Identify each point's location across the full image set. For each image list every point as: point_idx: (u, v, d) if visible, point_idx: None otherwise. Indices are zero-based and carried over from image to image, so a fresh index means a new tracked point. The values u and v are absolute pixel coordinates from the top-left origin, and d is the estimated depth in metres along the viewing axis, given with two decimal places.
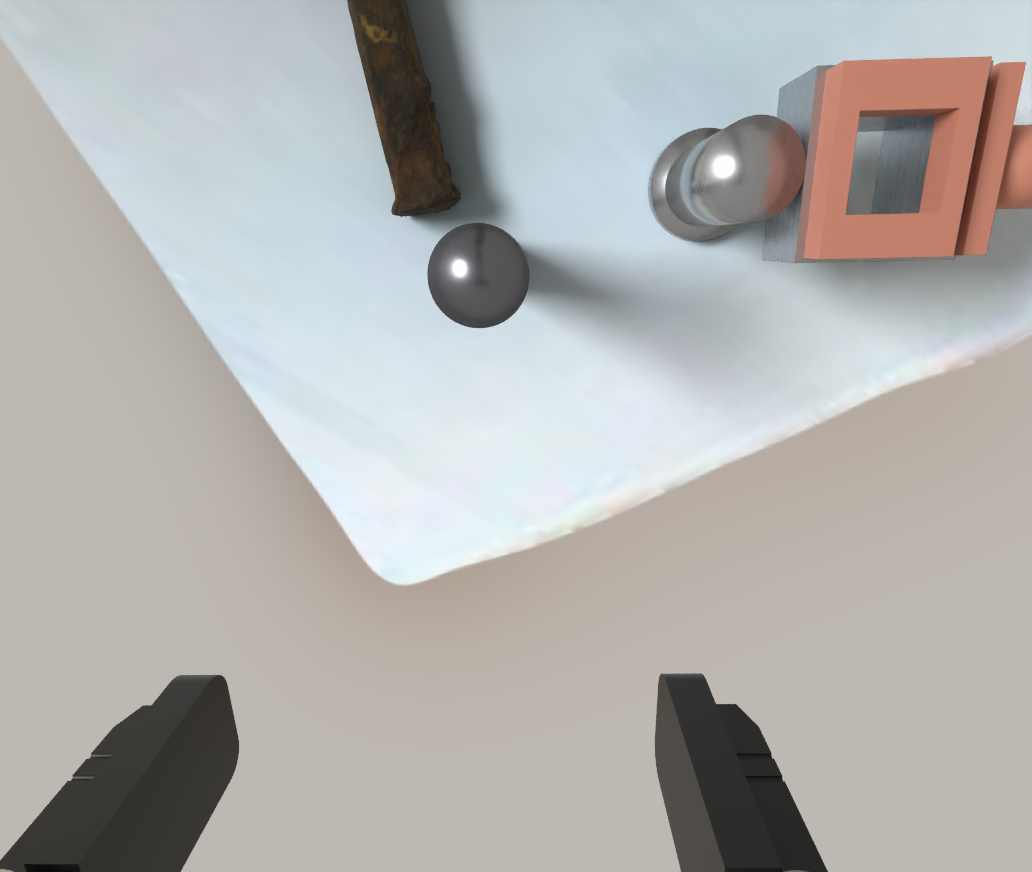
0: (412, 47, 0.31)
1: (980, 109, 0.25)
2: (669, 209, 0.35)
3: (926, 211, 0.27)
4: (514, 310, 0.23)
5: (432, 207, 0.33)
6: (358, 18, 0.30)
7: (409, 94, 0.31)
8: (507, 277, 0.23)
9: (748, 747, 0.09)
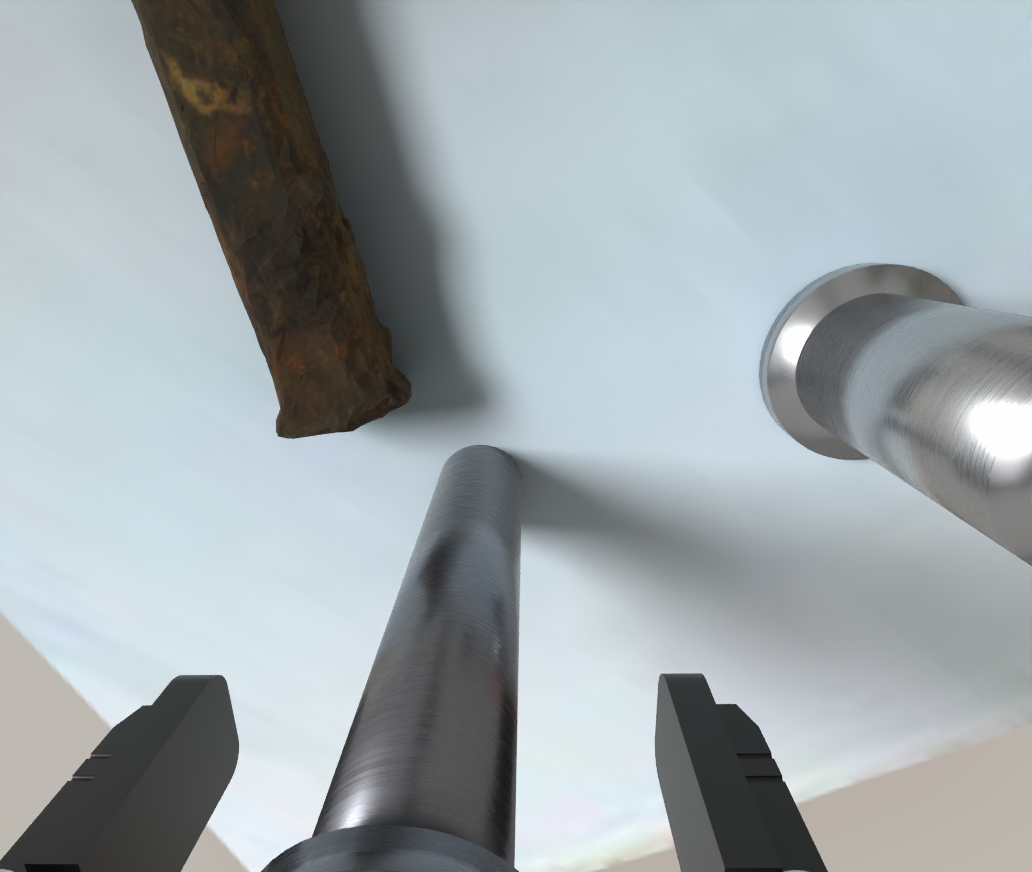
0: (289, 119, 0.15)
1: None
2: (801, 407, 0.19)
3: None
4: None
5: (350, 430, 0.16)
6: (163, 64, 0.14)
7: (287, 218, 0.15)
8: None
9: (748, 747, 0.09)
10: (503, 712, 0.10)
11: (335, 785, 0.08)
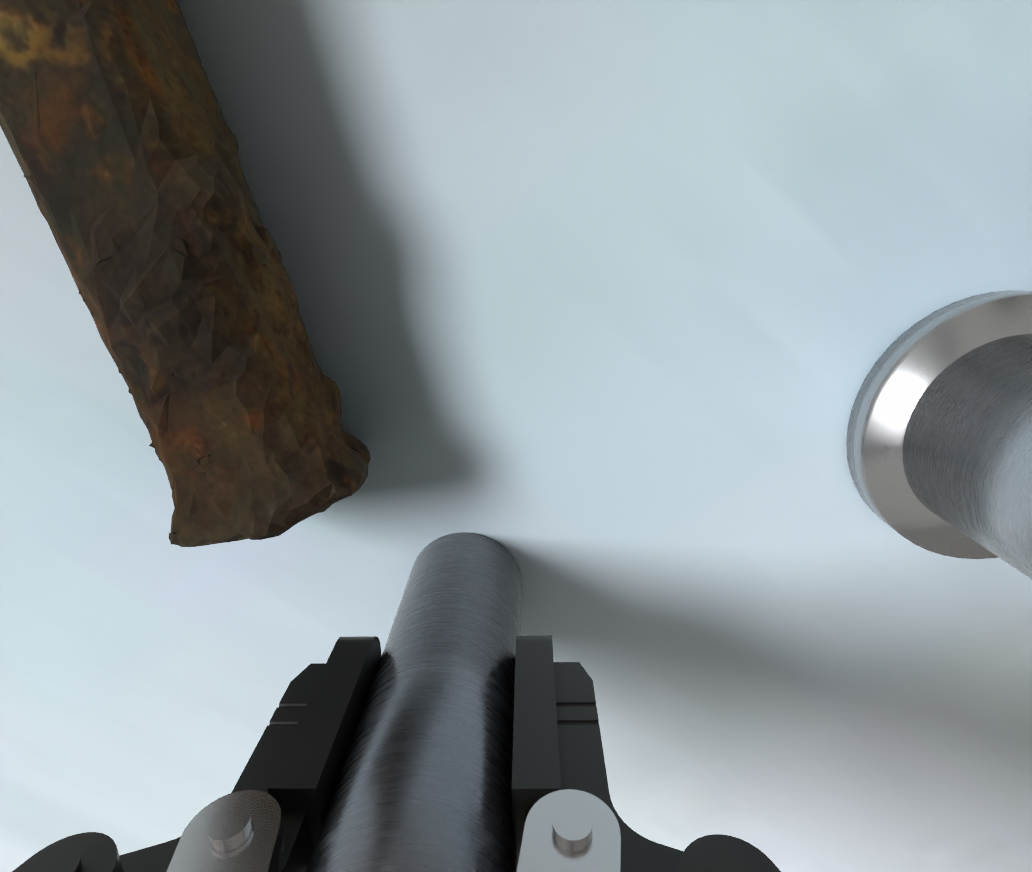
0: (157, 75, 0.10)
1: None
2: (908, 489, 0.13)
3: None
4: None
5: (274, 535, 0.11)
6: None
7: (158, 226, 0.10)
8: None
9: (577, 697, 0.10)
10: None
11: None
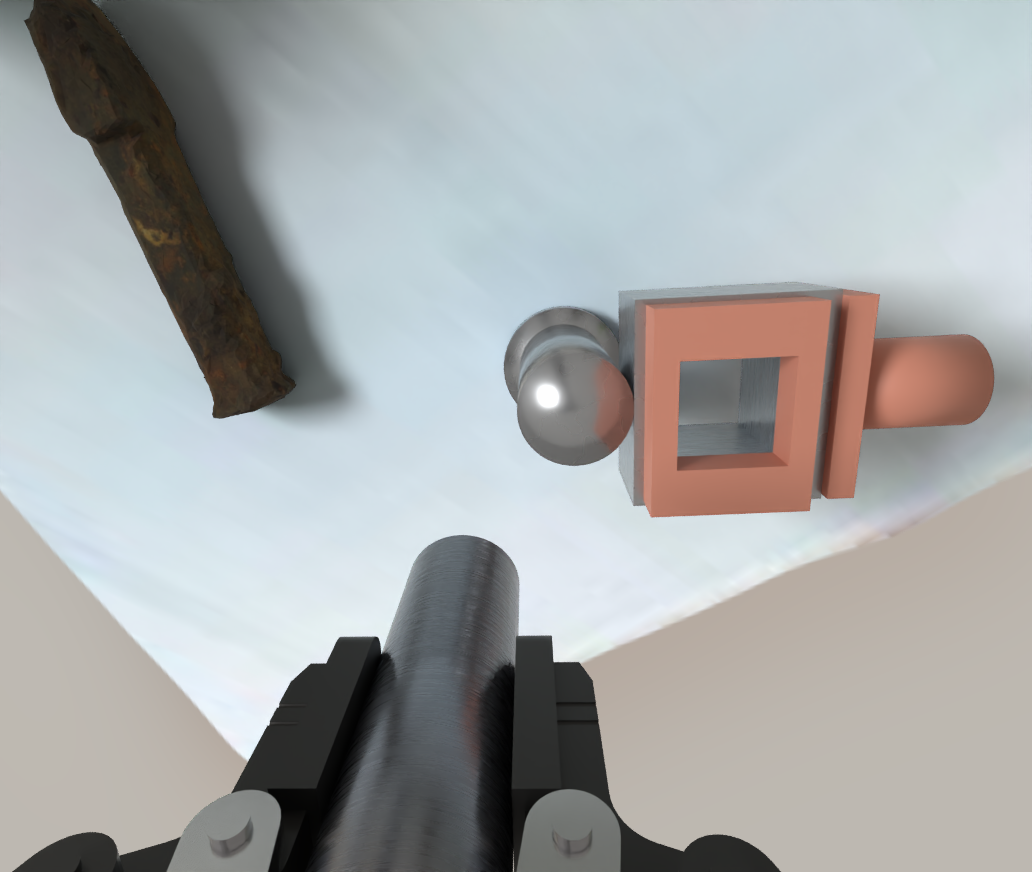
0: (202, 243, 0.27)
1: (824, 356, 0.20)
2: None
3: (778, 454, 0.23)
4: None
5: (252, 410, 0.29)
6: (133, 222, 0.27)
7: (205, 296, 0.27)
8: None
9: (577, 697, 0.10)
10: None
11: None
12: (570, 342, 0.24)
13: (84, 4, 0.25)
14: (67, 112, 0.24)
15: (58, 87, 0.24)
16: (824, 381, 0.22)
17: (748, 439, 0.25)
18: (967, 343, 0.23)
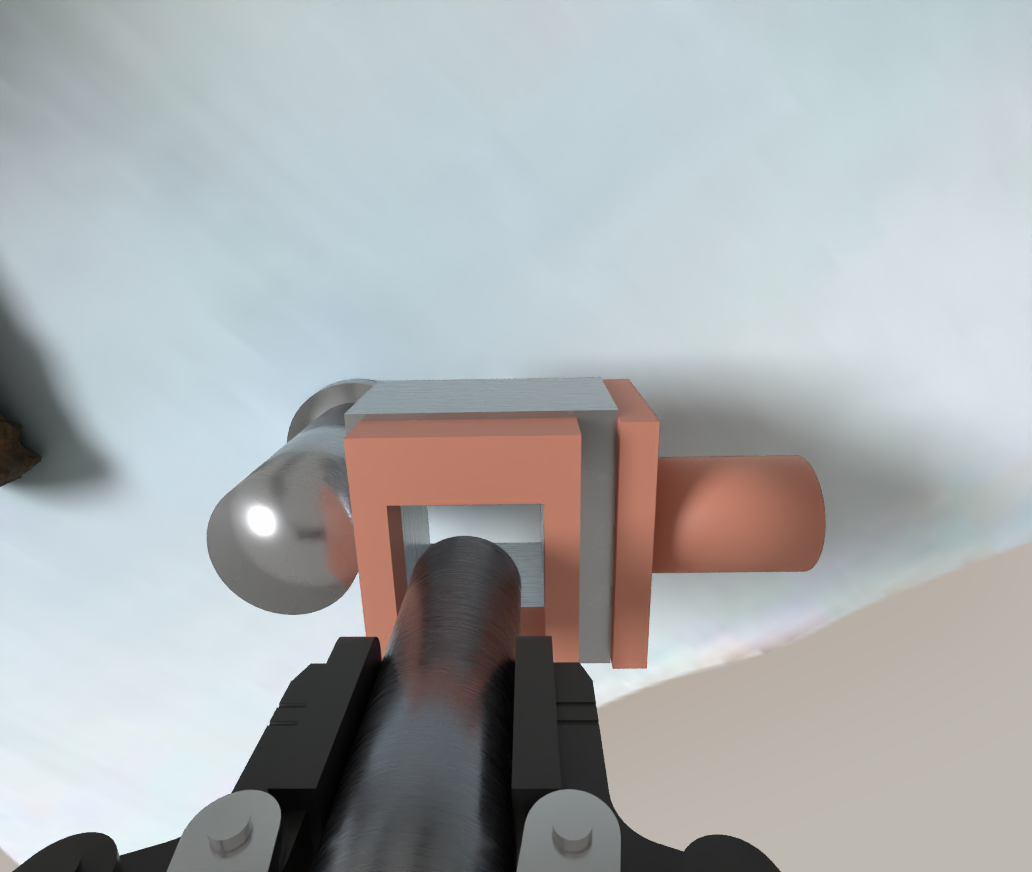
0: None
1: (578, 505, 0.15)
2: None
3: (544, 614, 0.17)
4: None
5: None
6: None
7: None
8: None
9: (577, 697, 0.10)
10: None
11: None
12: (303, 449, 0.19)
13: None
14: None
15: None
16: (602, 523, 0.17)
17: (531, 578, 0.19)
18: (797, 473, 0.18)
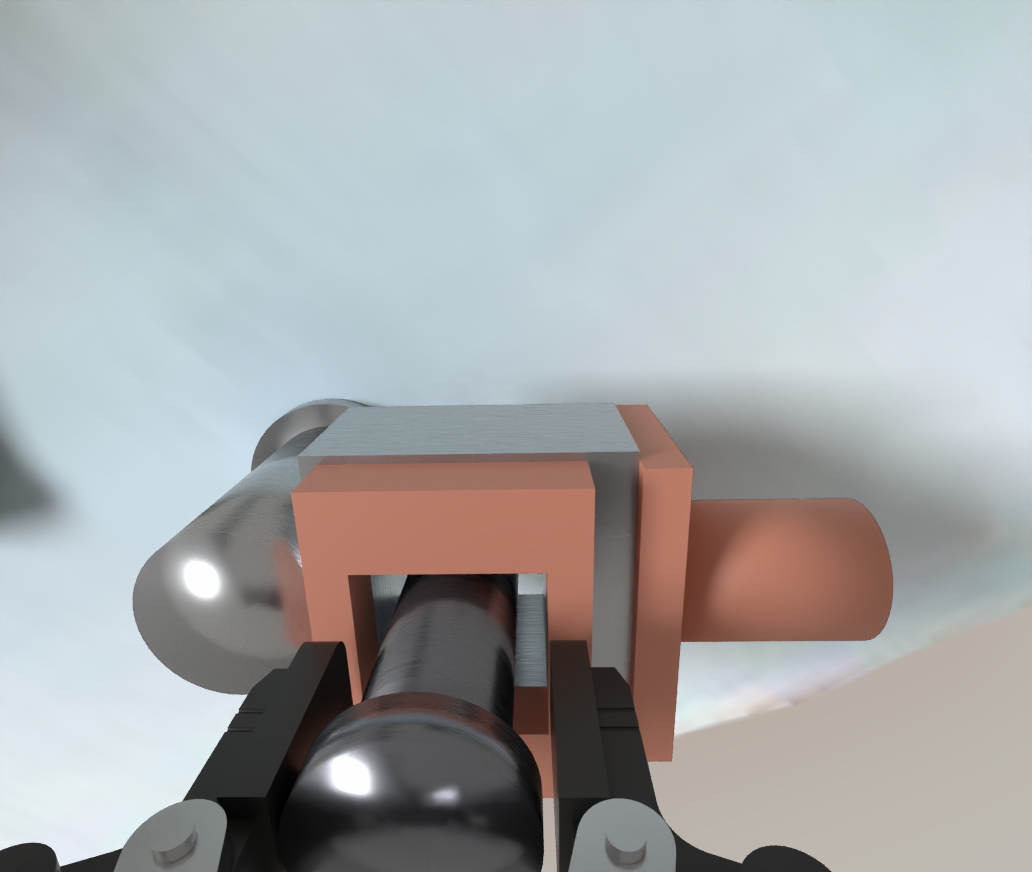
0: None
1: (591, 575, 0.12)
2: None
3: (547, 699, 0.14)
4: None
5: None
6: None
7: None
8: (487, 852, 0.09)
9: (615, 703, 0.10)
10: (504, 637, 0.12)
11: (371, 683, 0.11)
12: (257, 490, 0.16)
13: None
14: None
15: None
16: (619, 589, 0.14)
17: (532, 644, 0.16)
18: (856, 524, 0.15)
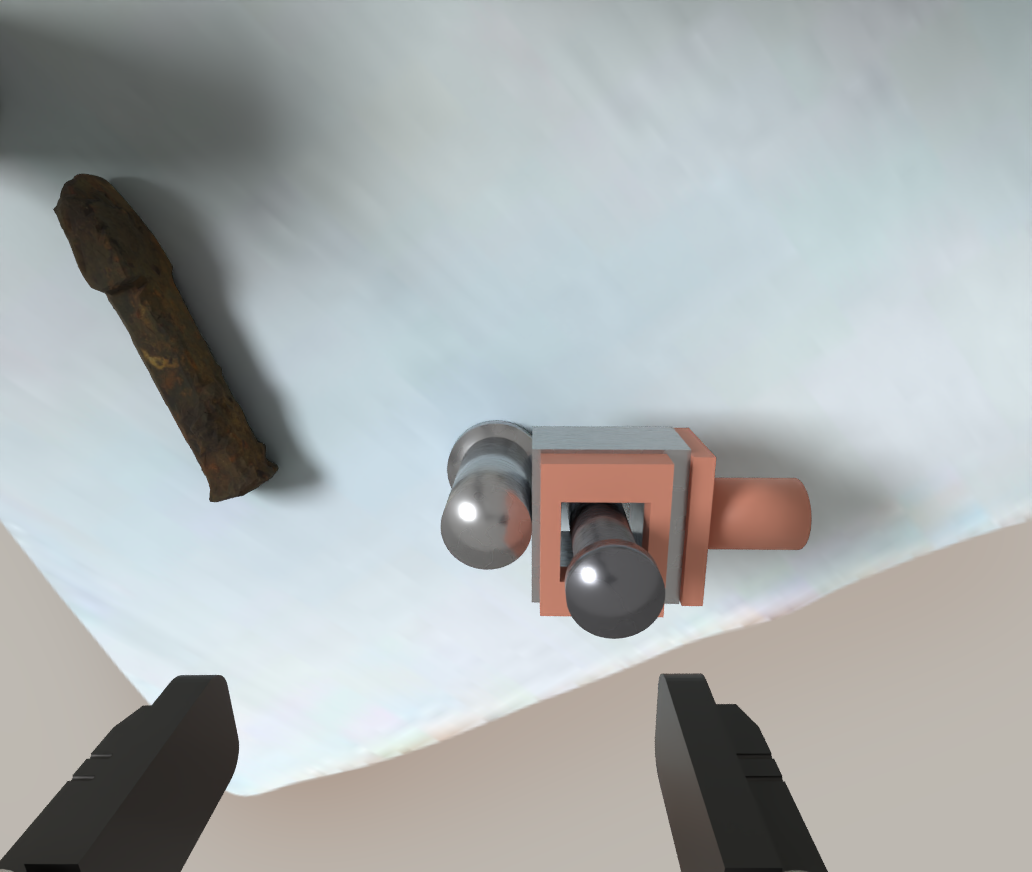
0: (196, 364, 0.34)
1: (670, 504, 0.27)
2: None
3: None
4: (648, 625, 0.23)
5: (242, 495, 0.35)
6: (141, 351, 0.33)
7: (199, 406, 0.34)
8: (643, 596, 0.23)
9: (748, 747, 0.09)
10: (631, 534, 0.27)
11: (582, 546, 0.25)
12: (489, 468, 0.31)
13: (98, 185, 0.32)
14: (87, 274, 0.31)
15: (80, 256, 0.31)
16: (679, 516, 0.29)
17: None
18: (794, 489, 0.29)
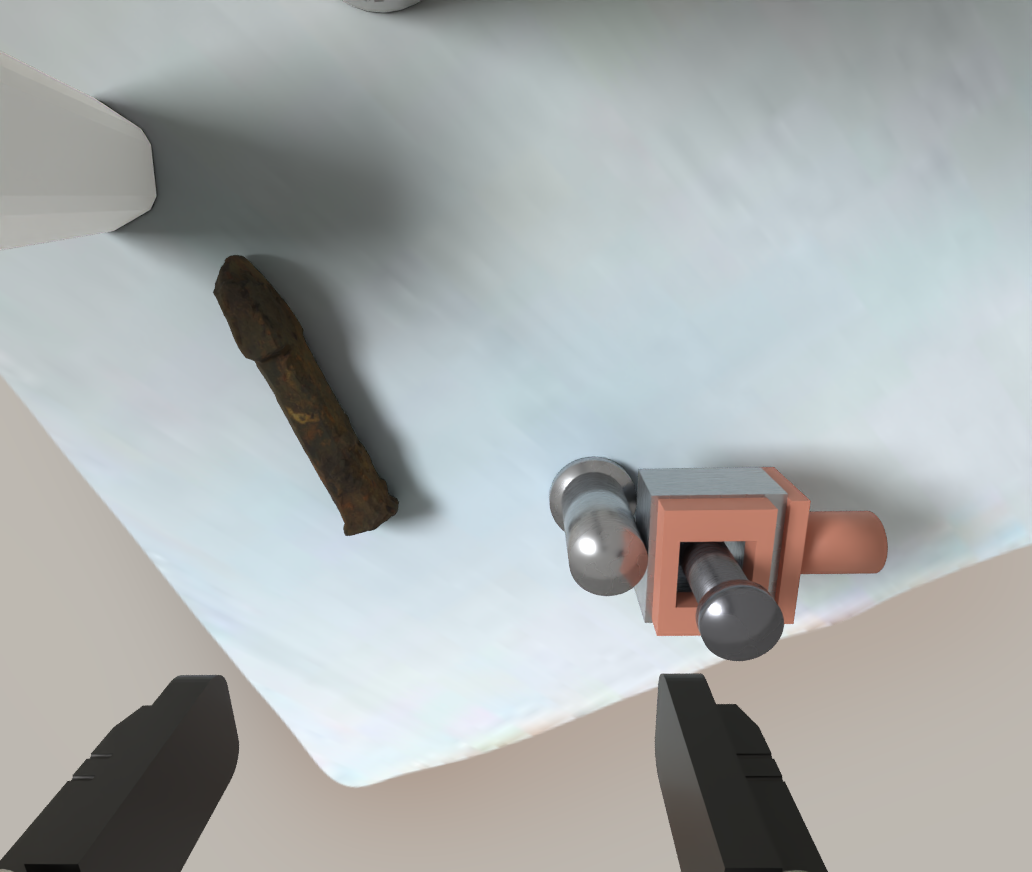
0: (333, 417, 0.38)
1: (773, 542, 0.32)
2: None
3: None
4: (768, 649, 0.28)
5: (374, 529, 0.40)
6: (285, 409, 0.38)
7: (337, 454, 0.38)
8: (765, 627, 0.28)
9: (748, 747, 0.09)
10: (741, 569, 0.31)
11: (705, 582, 0.30)
12: (604, 507, 0.35)
13: (242, 265, 0.36)
14: (243, 347, 0.35)
15: (237, 332, 0.35)
16: (774, 549, 0.33)
17: None
18: (872, 522, 0.34)
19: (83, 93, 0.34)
